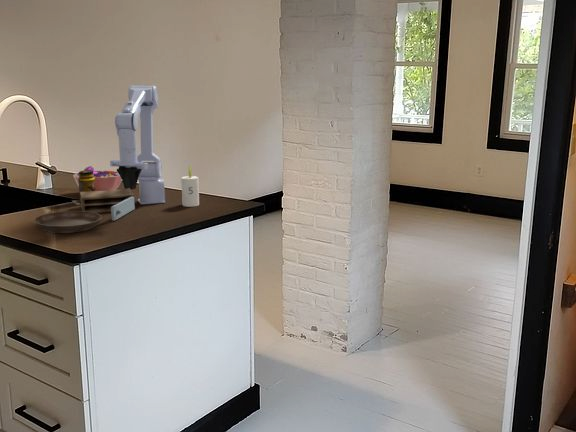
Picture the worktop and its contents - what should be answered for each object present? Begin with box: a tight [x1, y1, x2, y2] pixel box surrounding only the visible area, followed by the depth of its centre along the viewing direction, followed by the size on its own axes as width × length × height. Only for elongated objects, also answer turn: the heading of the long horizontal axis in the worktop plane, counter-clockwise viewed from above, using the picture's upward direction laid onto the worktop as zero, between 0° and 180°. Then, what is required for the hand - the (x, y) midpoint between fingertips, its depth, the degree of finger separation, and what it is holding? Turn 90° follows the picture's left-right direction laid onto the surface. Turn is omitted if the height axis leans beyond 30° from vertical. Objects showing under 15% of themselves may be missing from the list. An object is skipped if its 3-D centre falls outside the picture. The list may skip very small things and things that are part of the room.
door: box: [110, 196, 136, 221], centre depth 213 cm, size 18×2×5 cm, turn 171°
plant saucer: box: [34, 210, 103, 234], centre depth 199 cm, size 21×21×3 cm
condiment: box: [72, 170, 96, 206], centre depth 233 cm, size 7×8×12 cm
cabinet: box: [79, 188, 136, 213], centre depth 223 cm, size 18×11×6 cm, turn 111°
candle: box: [180, 164, 200, 208], centre depth 229 cm, size 6×6×15 cm
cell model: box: [72, 165, 122, 191], centre depth 247 cm, size 17×20×11 cm
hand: (130, 188), depth 208 cm, fingers closed
